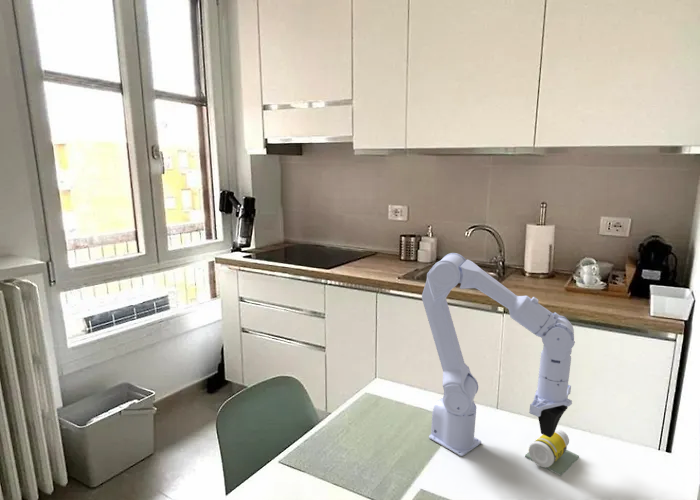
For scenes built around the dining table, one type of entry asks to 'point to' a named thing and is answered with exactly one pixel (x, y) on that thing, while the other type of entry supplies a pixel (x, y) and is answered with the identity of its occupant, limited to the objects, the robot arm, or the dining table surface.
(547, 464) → the supplement bottle
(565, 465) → the mat
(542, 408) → the robot arm
